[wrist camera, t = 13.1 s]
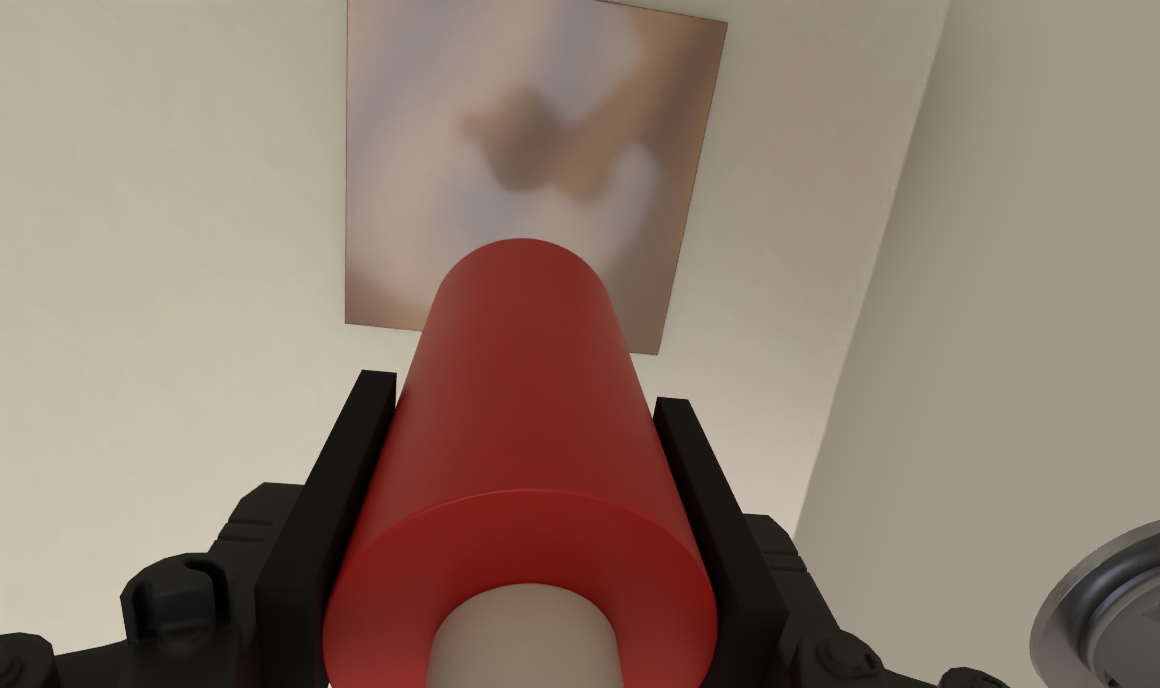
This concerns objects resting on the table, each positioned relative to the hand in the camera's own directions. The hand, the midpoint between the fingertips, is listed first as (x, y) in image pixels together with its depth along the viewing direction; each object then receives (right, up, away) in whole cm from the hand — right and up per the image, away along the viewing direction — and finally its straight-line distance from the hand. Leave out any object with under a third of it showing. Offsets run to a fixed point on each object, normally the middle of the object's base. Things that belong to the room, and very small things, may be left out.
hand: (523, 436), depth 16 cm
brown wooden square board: (-2, +12, +24) cm, 26 cm away
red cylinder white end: (-1, +3, +6) cm, 7 cm away
